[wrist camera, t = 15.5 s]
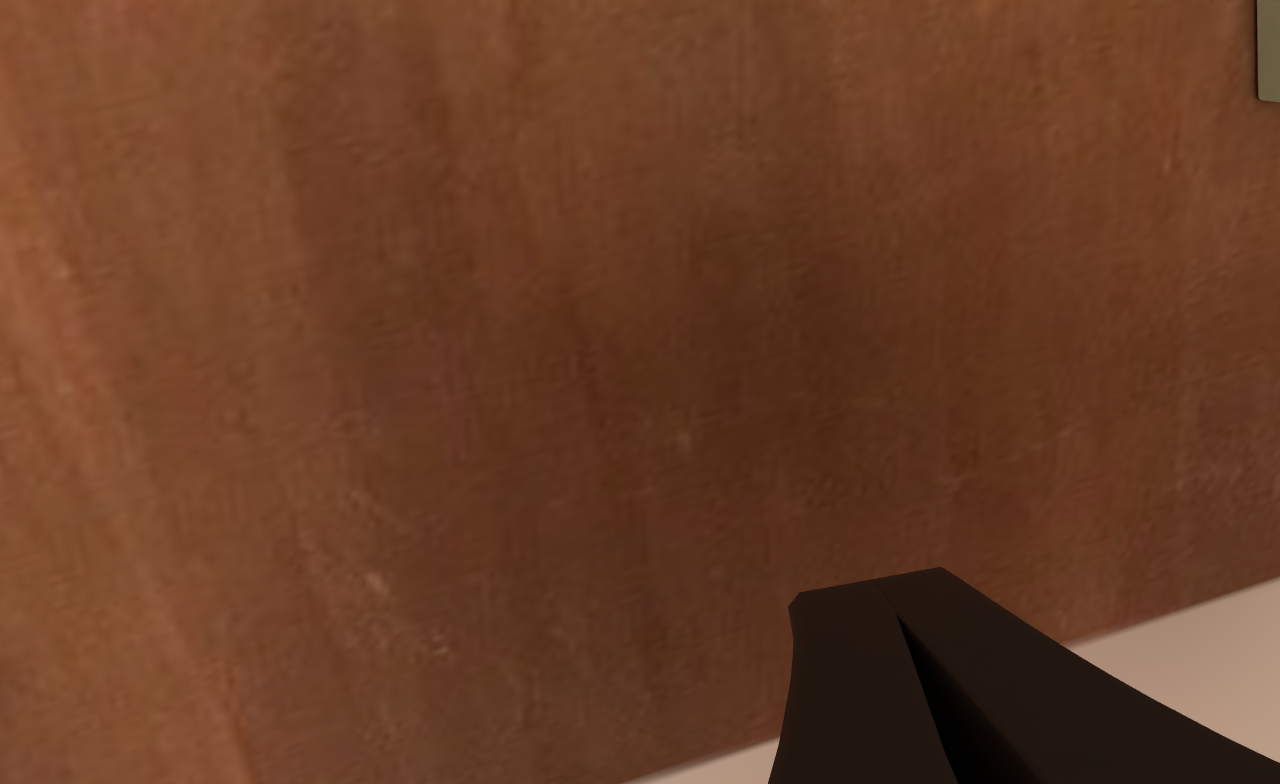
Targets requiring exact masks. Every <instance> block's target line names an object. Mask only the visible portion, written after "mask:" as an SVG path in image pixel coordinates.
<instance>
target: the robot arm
mask: <svg viewBox="0 0 1280 784" xmlns="http://www.w3.org/2000/svg"><path fill="white" fill-rule="evenodd" d="M788 609H789V615H790V621H791V627H792V633H793V660H792V671H791V681H790V687H789V693H788V698H787V704H786V709H785V715H784V721H783V726H782V732H781V736H780V741H779V746H778V749H777V753H776V757H775V760H774V764H773V767H772V771H771V774H770V778H769V782H768V784H1280V763H1279V762H1276V761H1274V760H1272V759H1270V758H1268V757H1266V756H1264V755H1261V754H1259V753H1257V752H1255V751H1253V750H1251V749H1249V748H1247V747H1245V746H1243V745H1241V744H1238V743H1236V742H1234V741H1232V740H1230V739H1228V738H1226V737H1224V736H1222V735H1220V734H1218V733H1216V732H1214V731H1212V730H1211V729H1209V728H1207V727H1205V726H1203V725H1201V724H1199V723H1198V722H1196V721H1193V720H1192V719H1190V718H1188V717H1186V716H1184V715H1182V714H1180V713H1179V712H1177V711H1175V710H1173V709H1171V708H1169V707H1167V706H1165V705H1163V704H1161V703H1160V702H1157V701H1156V700H1154V699H1152V698H1150V697H1148V696H1147V695H1145V694H1143V693H1141V692H1140V691H1138V690H1136V689H1134V688H1132V687H1131V686H1129V685H1127V684H1125V683H1124V682H1122V681H1120V680H1118V679H1117V678H1115V677H1113V676H1112V675H1110V674H1108V673H1106V672H1105V671H1103V670H1101V669H1100V668H1098V667H1096V666H1095V665H1093V664H1091V663H1090V662H1088V661H1086V660H1085V659H1083V658H1081V657H1079V656H1078V655H1077V654H1075V653H1073V652H1072V651H1070V650H1068V649H1067V648H1065V647H1063V646H1062V645H1060V644H1059V643H1057V642H1056V641H1054V640H1052V639H1051V638H1049V637H1048V636H1046V635H1044V634H1043V633H1041V632H1040V631H1038V630H1037V629H1035V628H1033V627H1032V626H1030V625H1029V624H1027V623H1026V622H1024V621H1023V620H1021V619H1020V618H1018V617H1017V616H1015V615H1014V614H1012V613H1011V612H1009V611H1008V610H1006V609H1004V608H1003V607H1001V606H1000V605H998V604H997V603H995V602H994V601H992V600H991V599H989V598H988V597H986V596H985V595H983V594H982V593H981V592H979V591H978V590H976V589H975V588H973V587H972V586H970V585H969V584H967V583H966V582H964V581H963V580H961V579H960V578H958V577H957V576H955V575H953V574H952V573H950V572H949V571H947V570H945V569H944V568H942V567H937V568H932V569H926V570H921V571H915V572H910V573H905V574H899V575H894V576H888V577H883V578H877V579H872V580H866V581H861V582H855V583H850V584H844V585H839V586H833V587H828V588H822V589H817V590H811V591H806V592H800V593H799V594H798V595H797V596H796V598H795V599H794V600H793V601H792V603H791V604H790V605H789V606H788Z"/></svg>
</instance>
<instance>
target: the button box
mask: <svg viewBox="0 0 1280 784" xmlns="http://www.w3.org/2000/svg"><path fill="white" fill-rule="evenodd" d="M1257 41H1258V97H1259V99H1260V100H1264V101H1272V102H1280V0H1257Z"/></svg>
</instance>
